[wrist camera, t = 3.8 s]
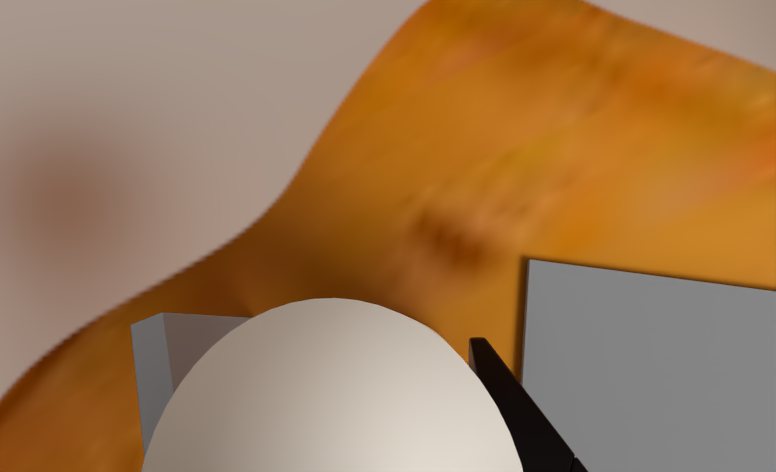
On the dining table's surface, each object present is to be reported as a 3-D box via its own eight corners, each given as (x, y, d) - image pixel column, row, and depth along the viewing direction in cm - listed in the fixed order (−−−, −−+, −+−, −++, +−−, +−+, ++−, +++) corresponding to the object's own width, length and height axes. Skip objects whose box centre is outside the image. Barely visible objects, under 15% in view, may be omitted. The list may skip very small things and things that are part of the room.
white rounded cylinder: (474, 406, 14) (628, 711, 3) (372, 445, 14) (134, 881, 3) (433, 306, 16) (429, 245, 4) (340, 342, 16) (97, 377, 4)
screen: (307, 546, 14) (216, 701, 8) (281, 556, 14) (172, 717, 8) (255, 318, 17) (162, 312, 11) (233, 326, 17) (130, 324, 11)
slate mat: (893, 670, 11) (910, 683, 10) (509, 560, 13) (511, 567, 12) (829, 300, 14) (841, 300, 13) (527, 261, 16) (529, 259, 15)
